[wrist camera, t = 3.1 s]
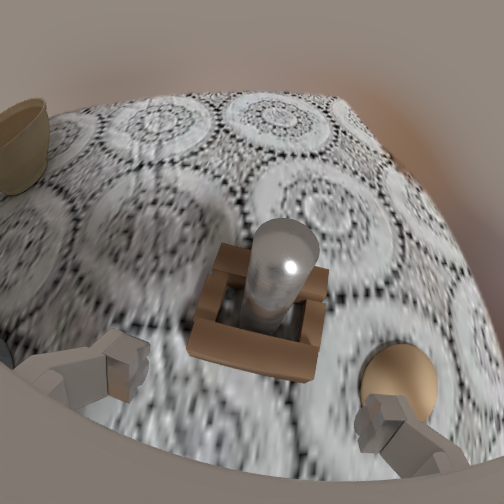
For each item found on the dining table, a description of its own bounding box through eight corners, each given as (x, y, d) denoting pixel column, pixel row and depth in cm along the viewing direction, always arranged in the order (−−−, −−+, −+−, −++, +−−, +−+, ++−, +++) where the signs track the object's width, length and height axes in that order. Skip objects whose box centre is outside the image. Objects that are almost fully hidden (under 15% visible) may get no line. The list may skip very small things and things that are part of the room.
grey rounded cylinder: (257, 345, 26) (285, 288, 15) (231, 314, 28) (239, 238, 17) (288, 321, 28) (332, 250, 17) (262, 292, 29) (287, 208, 18)
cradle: (309, 384, 25) (319, 380, 22) (184, 354, 25) (180, 346, 23) (324, 284, 31) (333, 270, 28) (216, 257, 31) (216, 241, 29)
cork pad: (399, 451, 21) (402, 451, 20) (341, 392, 24) (343, 391, 24) (446, 383, 25) (449, 382, 24) (397, 327, 28) (400, 326, 28)
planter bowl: (68, 135, 42) (53, 86, 32) (59, 192, 34) (32, 134, 25) (1, 163, 37) (-19, 121, 28) (-17, 225, 30) (-50, 179, 21)
